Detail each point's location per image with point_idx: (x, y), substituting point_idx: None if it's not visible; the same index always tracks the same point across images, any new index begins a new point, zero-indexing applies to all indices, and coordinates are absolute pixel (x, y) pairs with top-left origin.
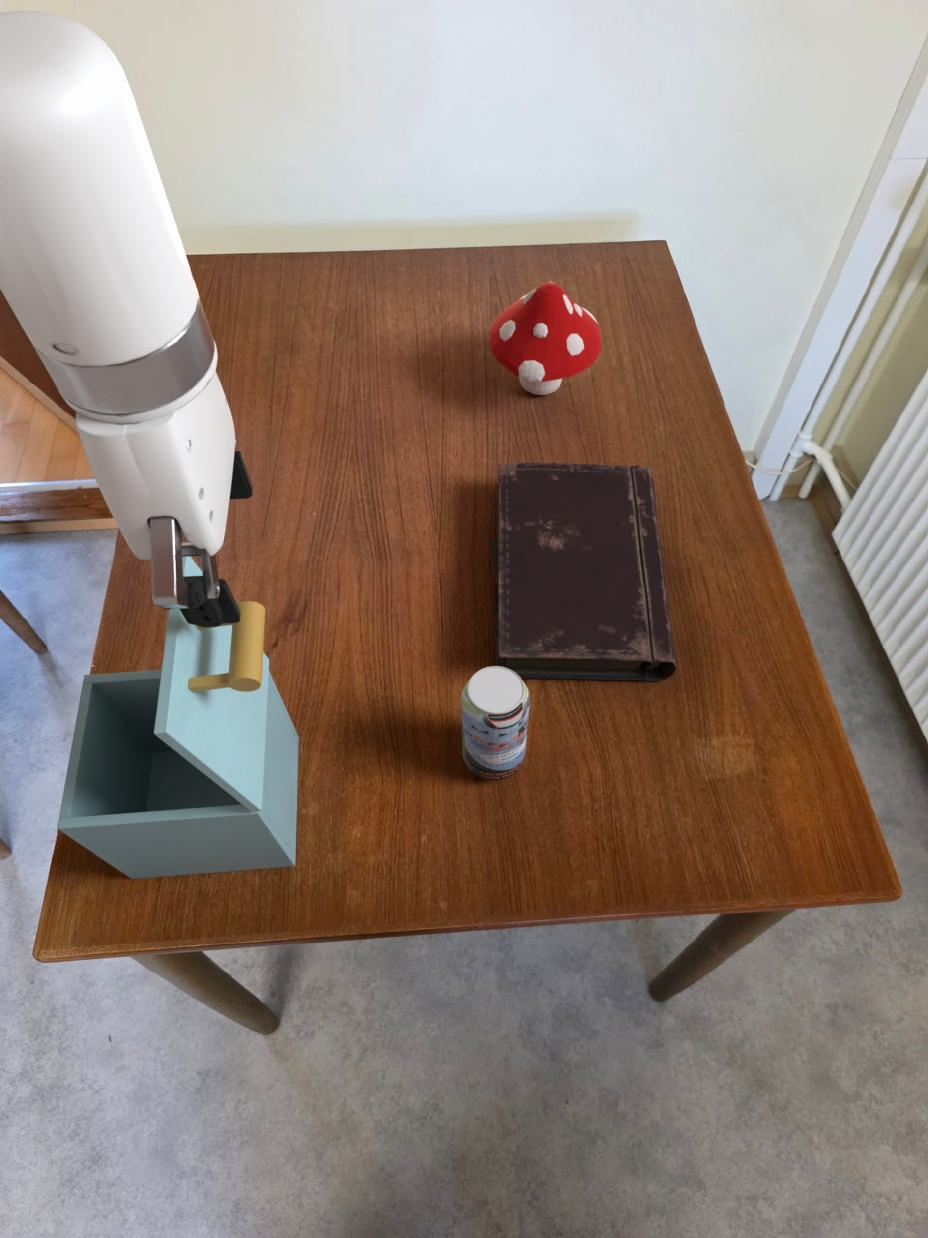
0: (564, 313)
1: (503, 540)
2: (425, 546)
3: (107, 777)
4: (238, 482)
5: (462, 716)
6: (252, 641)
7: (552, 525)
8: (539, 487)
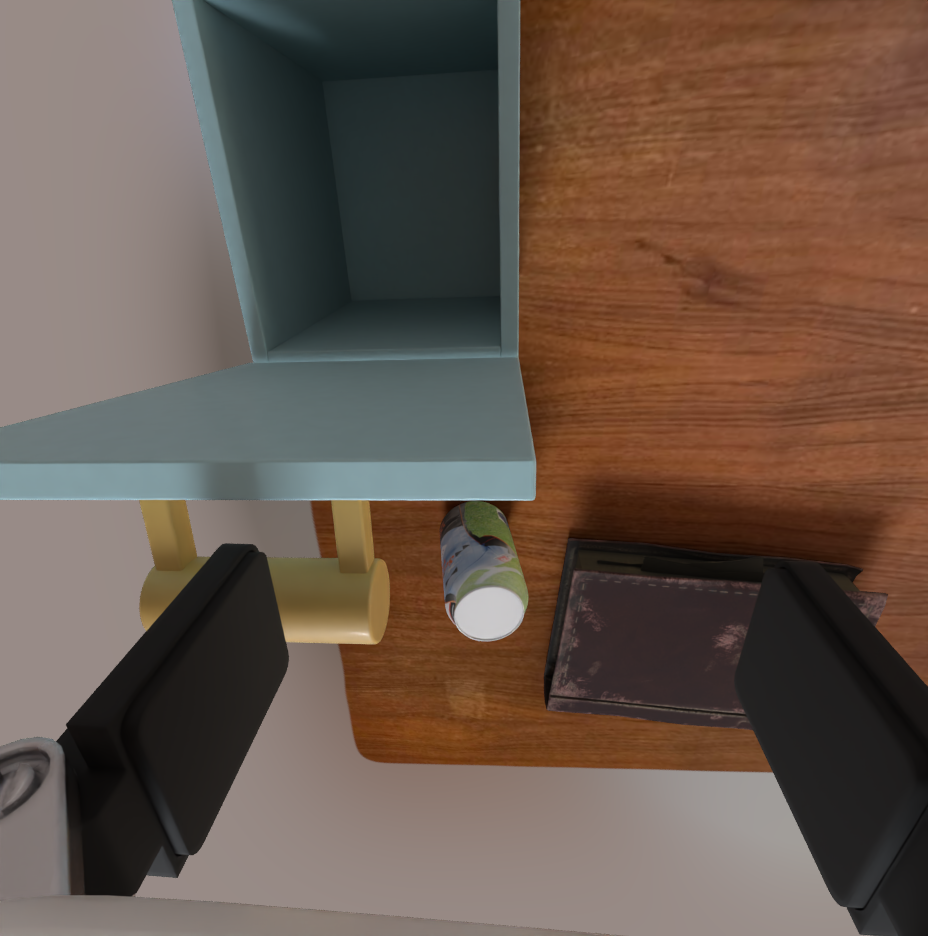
0: None
1: (749, 589)
2: (787, 471)
3: (365, 29)
4: (776, 749)
5: (476, 552)
6: None
7: None
8: None
